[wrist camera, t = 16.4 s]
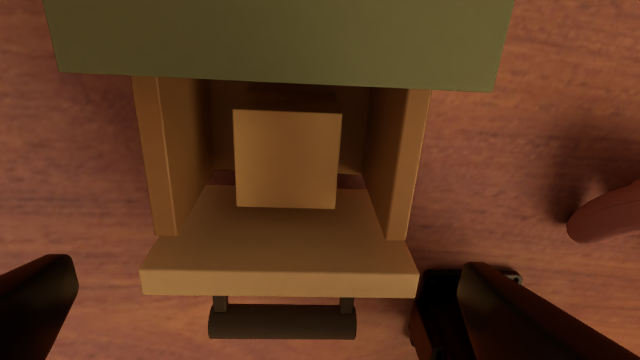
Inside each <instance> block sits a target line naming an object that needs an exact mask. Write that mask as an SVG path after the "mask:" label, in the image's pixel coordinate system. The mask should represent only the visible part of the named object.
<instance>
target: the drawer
mask: <svg viewBox="0 0 640 360" xmlns="http://www.w3.org/2000/svg"><path fill="white" fill-rule="evenodd" d="M130 77H131V83H132V90H133V96H134V103H135V109H136V116H137V122H138V129H139V135H140V142H141V148H142V155H143V161H144V168H145V174H146V181H147V187H148V193H149V200H150V206H151V213H152V219H153V226H154V232H155V235H156V236H159V238H158V239H157V241H156V243H155V244H154V246H153V247H152V249H151V250H150V252H149V254H148V255H147V257H146V258H145V260H144V261H143V263H142V264H141V266H140V268H139V270H138V272H139V277H140V283H141V288H142V293H143V294H144V295H206V296H213V305H212V307H211V310H210V314H209V321H208V335H209V338H210V339H337V340H354V339H355V337H356V329H357V320H356V310H355V307H354V306H353V303H354V297H356V298H415V295H416V290H417V285H418V281H419V276H420V274H419V272H418V270H417V267H416V265H415V263H414V261H413V258H412V256H411V254H410V251H409V249H408V247H407V245H406V242H405V240H406V235H407V230H408V224H409V218H410V213H411V207H412V201H413V196H414V190H415V184H416V179H417V173H418V167H419V162H420V156H421V150H422V145H423V139H424V133H425V128H426V122H427V116H428V111H429V105H430V99H431V94H432V90H426V89H405V88H384V87H363V86H341V85H320V84H299V83H278V82H256V81H235V80H214V79H193V78H171V77H150V76H130ZM247 88H258V89H279V90H300V91H322V92H334V93H335V96H336V98H337V101H338V104H339V106H340V109H341V112H342V115H343V116H342V128H341V140H340V153H339V165H338V174H354V175H362V176H363V179H364V182H365V185H366V188H367V190H362V189H337V190H336V202H335V209H309V208H274V207H239V206H237V205H236V186H232V185H206V183H207V182H208V180H209V178H210V176H211V175H212V173H213V171H214V170H233V171H235V163H234V141H233V118H232V109H233V108H234V106H235V105H236V103H237V102H238V101H239V99H240V98H241V97H242V95H243V94H244V92H245V91H246V90H247ZM228 296H281V297H340V301H339V305H291V304H228Z"/></svg>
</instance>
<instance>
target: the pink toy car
mask: <svg viewBox="0 0 640 360" xmlns="http://www.w3.org/2000/svg"><path fill="white" fill-rule="evenodd" d="M566 228H567V233H568V235H569V237H570V238H571V239H573V240H574V241H576V242H578V243H581V244H599V243H603V242H606V241H610V240H613V239H617V238H620V237H624V236H629V235H634V234H640V179H638V180H634V181H633V182H632V183H631V185H628V186H625V187H622V188H619V189H617V190H614V191H611V192H608V193H605V194H603V195H601V196H599V197H597V198H595V199H593V200H591V201H589V202H587V203H586V204H585V205H583V206H582V207H580V208H579V209H578V210H576V211H575V212H574V213H573V214H572V215H571V217H570V219H569V221H568V222H567V224H566Z"/></svg>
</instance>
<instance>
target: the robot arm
mask: <svg viewBox="0 0 640 360" xmlns="http://www.w3.org/2000/svg"><path fill="white" fill-rule="evenodd" d="M430 277H433V278H431V279H429V278H430ZM514 278H515V279H514ZM512 279H513V280H512ZM521 283H522V277H521V276H520V274H519V273H518V272H516V271H497V270H496V269H494V268H492V267H491V266H489V265H487V264H486V263H483V262H467V263H465V265H464V267H463V270H427V271H425V272H424V273H423V276H422V280H421V285H420V290H419V295H418V298H416V299H415V301H414V303H413V308H412V313H411V318H410V323H409V331H410V342H411V345H412V346H413V347H415V349H416V352H417V355H418V358H419V360H640V357H639V356H637V355H635V354H634V353H632V352H630V351H629V350H627V349H626V348H624V347H622V346H621V345H619V344H617V343H616V342H614V341H612V340H611V339H609V338H607V337H606V336H604V335H602V334H601V333H599V332H598V331H596V330H594V329H593V328H591V327H589V326H588V325H586V324H584V323H583V322H581V321H579V320H578V319H576V318H575V317H573V316H571V315H570V314H568V313H566V312H565V311H563V310H561V309H560V308H558V307H556V306H555V305H553V304H552V303H550V302H548V301H547V300H545V299H543V298H542V297H540V296H538V295H537V294H535V293H533V292H532V291H530V290H529V289H527V288H525V287H524V286H522V285H521ZM78 289H79V283H78V279H77V276H76V272H75V268H74V265H73V261H72V258H71V257H70V256H69V255H67V254H48V255H45V256H42V257H40V258H38V259H36V260H34V261H31V262H29V263H27V264H25V265H22V266H20V267H18V268H16V269H14V270H11V271H9V272H7V273H5V274H2V275H0V360H45V359H46V357H47V355H48V354H49V352H50V350H51V348H52V346H53V344H54V342H55V340H56V337H57V335H58V333H59V331H60V329H61V327H62V325H63V323H64V321H65V319H66V317H67V315H68V313H69V311H70V308H71V306H72V304H73V302H74V300H75V298H76V296H77V293H78Z"/></svg>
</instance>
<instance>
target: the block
mask: <svg viewBox="0 0 640 360" xmlns="http://www.w3.org/2000/svg"><path fill="white" fill-rule="evenodd" d="M342 116H343V115H342V112H341V109H340V106H339V104H338V101H337V98H336V96H335V93H334V92H322V91H300V90H279V89H258V88H247V90H246V91H245V92H244V94H243V95H242V97H241V98H240V99H239V101H238V102H237V103H236V105H235V106H234V108H233V109H232V118H233V141H234V163H235V186H236V205H237V206H239V207H274V208H309V209H335V202H336V190H337V177H338V165H339V153H340V140H341V128H342Z"/></svg>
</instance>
